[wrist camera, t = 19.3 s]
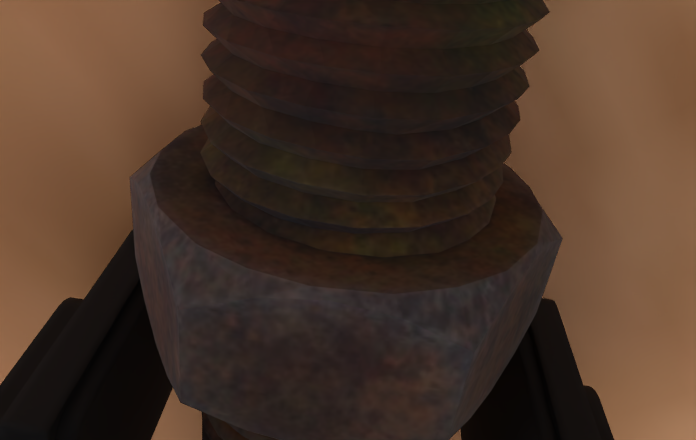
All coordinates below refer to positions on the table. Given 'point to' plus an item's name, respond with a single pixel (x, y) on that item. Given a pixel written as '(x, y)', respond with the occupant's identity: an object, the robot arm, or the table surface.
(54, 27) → the table surface
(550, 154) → the table surface
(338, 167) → the bolt
